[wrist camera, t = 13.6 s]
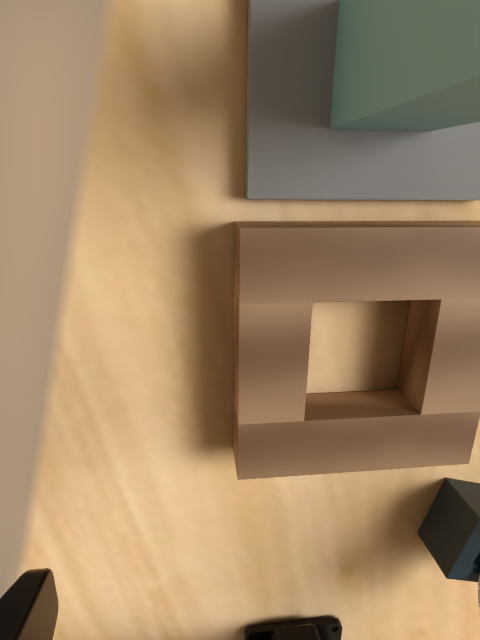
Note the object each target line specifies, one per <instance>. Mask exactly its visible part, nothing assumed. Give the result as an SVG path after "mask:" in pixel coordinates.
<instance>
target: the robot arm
mask: <svg viewBox="0 0 480 640" xmlns="http://www.w3.org/2000/svg"><path fill="white" fill-rule="evenodd" d="M57 615H58V597H57V592H56V587H55V581H54V576H53V572H52V571H51V569H48V568H45V569H33V570H28V571H26V572H25V573H23V574H22V575H21V576H20V577H19V578H18V580H17V581H16V582H15V583H14V584H13V585H12V586H11V587H10V588H9V589H8V590H7V592H6V593H5V594H4V595H3V596H2V597H1V598H0V640H53V635H54V630H55V625H56V620H57ZM341 634H342V625H341V622H340V620H339V619H338V618H326V619H317V620H308V621H299V622H289V623H280V624H271V625H262V626H253V627H248V628H247V629H246V630H245V631H244V640H341Z"/></svg>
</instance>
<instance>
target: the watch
mask: <svg viewBox="0 0 480 640" xmlns="http://www.w3.org/2000/svg"><path fill="white" fill-rule="evenodd" d="M418 534H419V536H420V537H421V539H422V541H423V542H424V544H425V545H426V547H427V548H428V550H429V551H430V553H431V555H432V556H433V558H434V559H435V561H436V562H437V564H438V566H439V567H440V569H441V570H442V572H443V573H444V575H445V577H446V578H447V579H456V580H465V581H473V582H478V587H479V588H480V484H479V483H473V482H467V481H461V480H456V479H450V478H446V479H445V481H444V483H443V485H442V487H441V489H440V490H439V492H438V494H437V496H436V498H435V500H434V502H433V504H432V506H431V508H430V510H429V512H428V514H427V516H426V518H425V520H424V522H423V524H422V526H421V528H420V530H419V532H418ZM478 603H479V607H480V589H478Z"/></svg>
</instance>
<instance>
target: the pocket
mask: <svg viewBox="0 0 480 640" xmlns="http://www.w3.org/2000/svg"><path fill="white" fill-rule="evenodd" d="M394 300H410V306H409V313H408V320H407V326H406V333H405V339H404V346H403V353H402V359H401V366H400V373H399V379H398V386H397V390H378V391H357V392H336V393H315V394H306V387H307V373H308V359H309V344H310V330H311V316H312V302H351V301H394ZM479 417H480V221H241V222H234V335H233V451H234V458H235V464H236V471H237V477H238V480H242V479H256V478H270V477H285V476H299V475H313V474H328V473H342V472H356V471H371V470H385V469H399V468H414V467H428V466H442V465H457V464H469V460H470V456H471V452H472V447H473V443H474V439H475V435H476V430H477V426H478V422H479Z"/></svg>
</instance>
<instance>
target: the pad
mask: <svg viewBox="0 0 480 640" xmlns="http://www.w3.org/2000/svg"><path fill="white" fill-rule="evenodd" d="M338 10H339V0H248V36H247V113H246V190H245V198H246V199H337V200H480V122H475V123H470V124H465V125H460V126H455V127H450V128H444V129H439V130H434V131H406V130H359V129H330V121H331V107H332V93H333V79H334V65H335V51H336V38H337V24H338Z"/></svg>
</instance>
